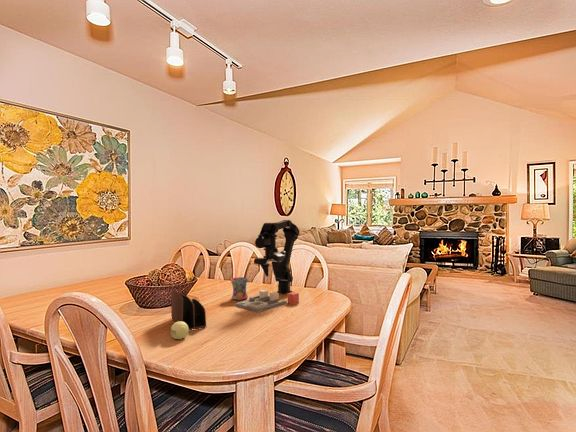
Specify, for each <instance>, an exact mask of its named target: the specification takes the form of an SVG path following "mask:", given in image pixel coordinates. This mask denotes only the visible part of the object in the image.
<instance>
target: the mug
mask: <svg viewBox="0 0 576 432" xmlns="http://www.w3.org/2000/svg"><path fill="white" fill-rule="evenodd" d="M248 281H249V278H248V277H245V276H244V277H243V276H242V277H240V276H239V277H233V278H230V282H231V284H232V289H233V291H232V296H231V299H232V300H235V301H243V300H246V299H247V298H248V293H247V283H248Z"/></svg>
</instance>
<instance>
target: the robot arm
mask: <svg viewBox="0 0 576 432" xmlns="http://www.w3.org/2000/svg"><path fill="white" fill-rule="evenodd" d="M279 230H282V232H283V237H284V239H285V240H284V242H285V243H284V246H283V250H282V251H278V250H279V249H278V247H277V245H276V243H277V242H276V240H277V239H276V238H277V237H278V235H277V233H278V232H279ZM299 235H300V229H299V227H298V226H297V225H296V224H295V223H293V221H292V220H290V219H283V220H280V221H277V222H264V223H263V225H262V227H261V229H260V232H259V234H258V235H257V237H256V239H255V241H254V246H255V247H256V248H258V249H262V250H263V251H264V255H263V257H256V258H254V259H253V265H259V266H260V267H261V269H262V270H263V272H264V274H265V277H269V267H270V265H271V266H272V272H273V275H274V279H275V282H277V283H278V284H277V291H276V293H279V294H285V295H286V294H287V293H291V292H293V291H292V290H291V283H293V281H294V277H293V275H292V273H291V267H290V261H291V257H292V253H293V248H294V244H295V242H296V241H297V239H298V237H299ZM269 262H271V264H270V263H269Z"/></svg>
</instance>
